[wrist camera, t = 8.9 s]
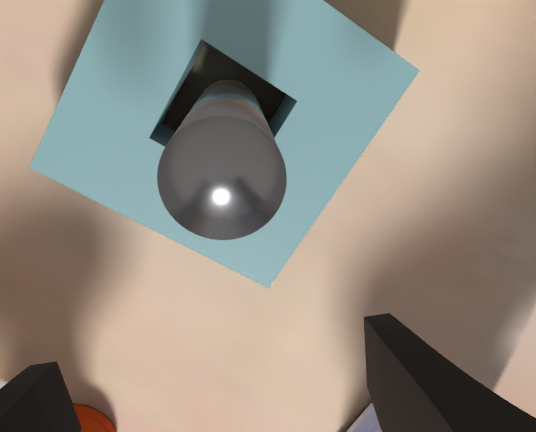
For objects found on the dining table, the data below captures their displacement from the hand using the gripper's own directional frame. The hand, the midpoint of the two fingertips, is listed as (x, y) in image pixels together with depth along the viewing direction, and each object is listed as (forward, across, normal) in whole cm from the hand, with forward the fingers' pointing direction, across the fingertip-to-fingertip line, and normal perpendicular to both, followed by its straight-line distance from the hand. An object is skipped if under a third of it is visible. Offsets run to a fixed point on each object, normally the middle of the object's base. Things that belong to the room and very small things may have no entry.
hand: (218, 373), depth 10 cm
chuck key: (+10, -1, -5) cm, 11 cm away
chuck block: (+10, -1, -5) cm, 11 cm away
